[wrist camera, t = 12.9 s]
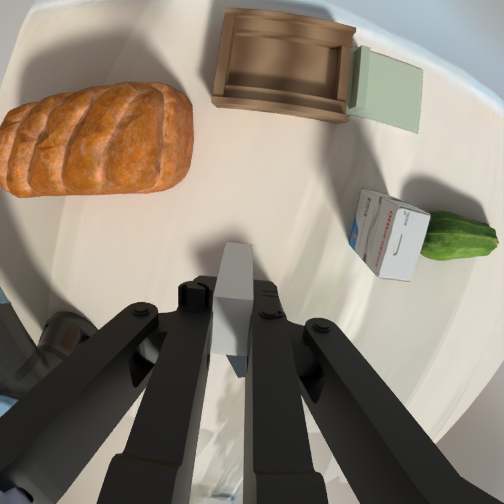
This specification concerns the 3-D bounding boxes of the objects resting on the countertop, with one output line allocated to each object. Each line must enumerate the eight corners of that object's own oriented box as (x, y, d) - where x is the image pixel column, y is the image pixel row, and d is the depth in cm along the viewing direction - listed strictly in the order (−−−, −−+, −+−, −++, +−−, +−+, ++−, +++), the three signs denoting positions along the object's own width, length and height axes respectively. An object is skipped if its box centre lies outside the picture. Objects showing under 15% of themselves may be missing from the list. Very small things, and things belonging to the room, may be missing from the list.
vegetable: (438, 231, 32) (520, 246, 33) (419, 196, 37) (501, 216, 38) (415, 268, 37) (497, 275, 38) (401, 233, 42) (482, 245, 43)
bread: (43, 108, 34) (-25, 106, 20) (197, 87, 35) (163, 56, 20) (42, 190, 39) (-23, 213, 25) (192, 188, 39) (157, 213, 25)
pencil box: (216, 107, 35) (211, 102, 31) (228, 22, 31) (225, 7, 26) (337, 123, 36) (348, 120, 31) (345, 39, 31) (356, 27, 27)
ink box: (376, 250, 42) (411, 284, 31) (347, 245, 42) (376, 279, 31) (390, 194, 39) (433, 213, 28) (360, 187, 39) (397, 204, 28)
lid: (341, 113, 36) (349, 110, 32) (347, 47, 32) (356, 39, 29) (415, 133, 36) (428, 134, 33) (420, 71, 33) (433, 67, 29)
